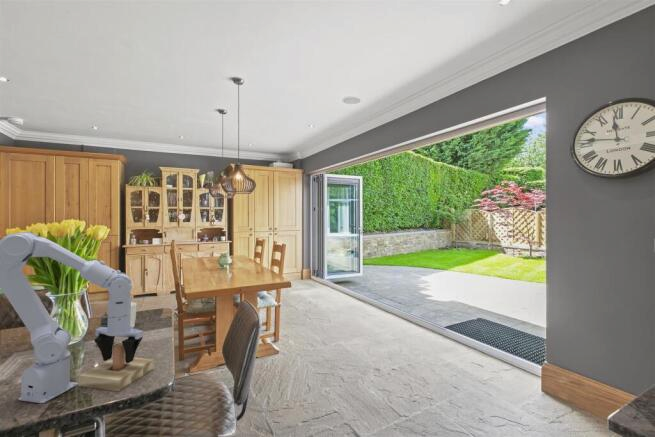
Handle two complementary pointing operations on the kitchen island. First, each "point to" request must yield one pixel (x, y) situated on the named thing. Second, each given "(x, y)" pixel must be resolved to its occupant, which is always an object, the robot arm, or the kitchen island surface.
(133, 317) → the white cup
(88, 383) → the socket block
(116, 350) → the peg
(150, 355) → the kitchen island surface
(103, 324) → the chess piece
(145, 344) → the kitchen island surface
